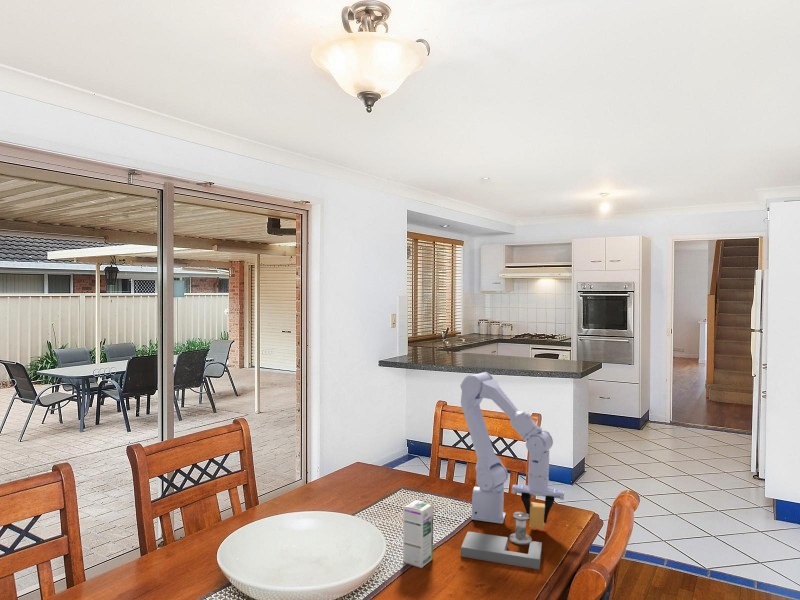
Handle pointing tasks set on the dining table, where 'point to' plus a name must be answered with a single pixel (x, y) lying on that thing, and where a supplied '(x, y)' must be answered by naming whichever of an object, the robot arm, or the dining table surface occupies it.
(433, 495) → the dining table surface
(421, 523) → the syrup box
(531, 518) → the tab block
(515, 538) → the bobbin post
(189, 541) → the dining table surface
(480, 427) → the robot arm
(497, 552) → the board
